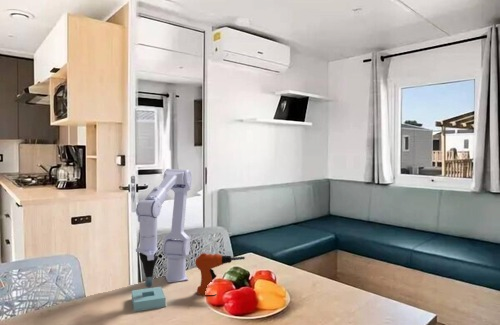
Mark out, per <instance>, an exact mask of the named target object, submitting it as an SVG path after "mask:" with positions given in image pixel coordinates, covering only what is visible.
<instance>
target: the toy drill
mask: <svg viewBox="0 0 500 325" xmlns="http://www.w3.org/2000/svg"><path fill="white" fill-rule="evenodd" d="M245 259H246V257H245V256H236V257H234V256H233V257H232V256H231V255H223V254H222V255H221V254H218V253H215V254H213V253H212V254H211V253H208V254H207V253H204V252H203V253H201V254H200V255H198V256H197V258H196V259H195V266H196V268H197V269H198V270H200V276H201V277H200V278H201V280H200V285H199V286H197V289H196V294H197V295H198V296H199V295H200V296H206V295H205V291H206V288H207V285H208V284H209V283H210V282H213V280H215V279H216V277H217V274H215V272H214V271H215V270H214V269H215V268H217V267H220V266H223V265H224V264H230V263H231V262H232V261H237V260H240V261H241V260H245Z"/></svg>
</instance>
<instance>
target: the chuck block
mask: <svg viewBox="0 0 500 325" xmlns="http://www.w3.org/2000/svg"><path fill="white" fill-rule="evenodd" d="M166 298H167V297H166V295H165V293H164V290H163V288H162V286H154V287H146V288H141V289H134V290H131V301H132V302H131V303H132V308H133V309H132V310H133V312H140V311H146V310H151V309H159V308H166Z"/></svg>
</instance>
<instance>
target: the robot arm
mask: <svg viewBox="0 0 500 325" xmlns="http://www.w3.org/2000/svg"><path fill="white" fill-rule="evenodd" d="M162 176H163V180H161V183H160V184H159V185H158V186H154V188H153V189H152V190H150V192H149V193H148V195H147V196H146V197H145V198H144V199H141V200H139V201H138V202H137V204H136V209H135V214H136V216H137V222H138V223H139V248H138V247H137V248H135V252H137V253H138V255H139V259H140V261H141V263H142V268H143V273H144V275H145V276H146V277H152V275H153V276H154V269H155V266H156V263H157V261H158V259H159V256H158V255H157V252H158V250H159V247H158V217H159V216H160V214H161V209H162V206H163V204H164V202H165V201H166V200H167V198H168V192H169V191H170V190H171V191H173V193H174V198H173V208H172V209H173V210H172V219H171V231H170V232H169V233H168V234H166V235H165V236H164V242H163V244H162V252H163V254H164V255H165V258H167V259H166V272H165V273H164V276H165V278H166V279H165V280H166V281H167V283H175V282H176V283H177V282H183V281H189V278H188V276H187V274H186V270H187V269H186V268H187V267H186V265H187V263H186V262H187V261H186V260H187V259H186V258H187V256H189V255H190V251H191V237H190V236H189V235H188V234H187V233H186V232H185V230H184V229H185V220H186V218H185V217H186V208H187V207H186V206H187V199H188V198H187V196H188V192H189V191H190V190H191V189H192V180H193V176H192V172H191V171H190V169H188V168H187V169H186V168H185V169H179V168H178V169H176V168H175V169H174V168H166V169H165V170H164V171H163V175H162ZM145 276H144V277H145Z"/></svg>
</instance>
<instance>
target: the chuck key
mask: <svg viewBox="0 0 500 325" xmlns="http://www.w3.org/2000/svg"><path fill="white" fill-rule="evenodd" d="M144 277H145V278H144V287H145V288H153V286H154V274H153V275H152V277H146V276H144Z"/></svg>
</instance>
